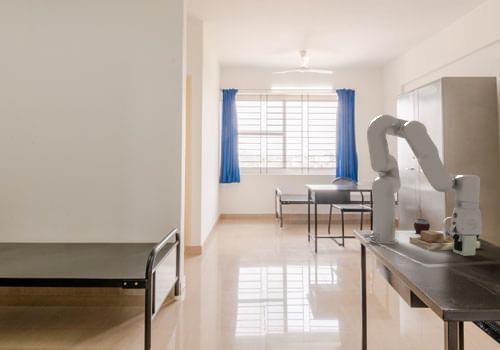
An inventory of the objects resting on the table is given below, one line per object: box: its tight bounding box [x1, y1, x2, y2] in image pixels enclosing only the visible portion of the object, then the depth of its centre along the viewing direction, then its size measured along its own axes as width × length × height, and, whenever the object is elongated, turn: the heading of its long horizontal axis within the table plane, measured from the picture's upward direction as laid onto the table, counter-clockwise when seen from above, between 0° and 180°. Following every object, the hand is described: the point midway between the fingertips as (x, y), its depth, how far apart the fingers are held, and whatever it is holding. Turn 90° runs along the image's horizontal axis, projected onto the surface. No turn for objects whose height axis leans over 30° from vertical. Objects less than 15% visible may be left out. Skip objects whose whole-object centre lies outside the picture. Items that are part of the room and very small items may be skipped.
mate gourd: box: [413, 204, 431, 235], centre depth 146 cm, size 8×8×15 cm
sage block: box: [452, 232, 477, 257], centre depth 112 cm, size 5×5×8 cm
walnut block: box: [420, 230, 445, 244], centre depth 123 cm, size 6×6×6 cm
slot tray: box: [409, 235, 481, 251], centre depth 124 cm, size 24×12×4 cm, turn 98°
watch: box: [442, 216, 452, 236], centre depth 138 cm, size 6×8×11 cm
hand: (464, 249), depth 112 cm, fingers closed on sage block, 5 cm apart
